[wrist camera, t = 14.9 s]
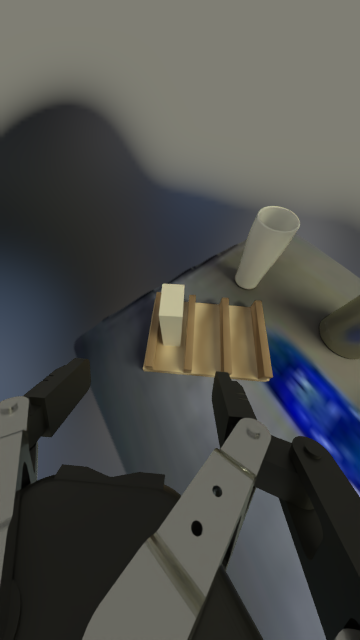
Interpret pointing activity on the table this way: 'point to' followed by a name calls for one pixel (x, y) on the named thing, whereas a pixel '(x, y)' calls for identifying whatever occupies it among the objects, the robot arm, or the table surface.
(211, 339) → the ridged wooden tray
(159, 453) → the table surface
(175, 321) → the cream rectangular block
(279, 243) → the drinking glass
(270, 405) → the table surface
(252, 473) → the robot arm
